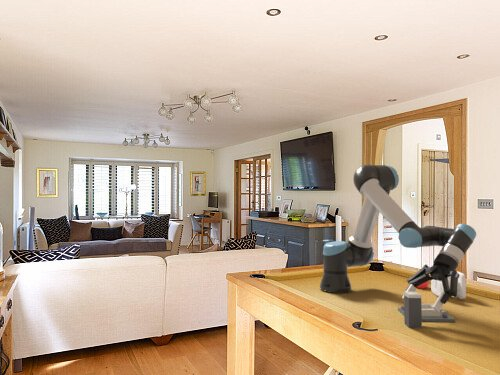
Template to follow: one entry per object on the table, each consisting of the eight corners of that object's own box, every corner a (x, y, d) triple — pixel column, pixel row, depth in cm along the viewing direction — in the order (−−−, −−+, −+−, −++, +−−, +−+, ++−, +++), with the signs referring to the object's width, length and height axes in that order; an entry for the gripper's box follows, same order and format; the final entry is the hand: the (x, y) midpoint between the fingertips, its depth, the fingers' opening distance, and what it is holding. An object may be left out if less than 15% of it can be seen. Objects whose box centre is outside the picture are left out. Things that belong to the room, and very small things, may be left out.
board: (410, 321, 141) (410, 311, 141) (397, 310, 155) (397, 301, 155) (455, 321, 140) (454, 312, 140) (437, 310, 154) (437, 301, 154)
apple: (426, 285, 197) (426, 270, 197) (432, 289, 189) (431, 273, 189) (410, 285, 198) (410, 270, 198) (415, 289, 190) (415, 273, 190)
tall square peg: (409, 327, 134) (408, 294, 134) (404, 323, 138) (404, 291, 138) (421, 328, 134) (421, 294, 134) (416, 323, 138) (416, 291, 138)
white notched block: (467, 301, 167) (467, 274, 168) (442, 301, 168) (442, 274, 169) (452, 293, 182) (452, 268, 183) (429, 292, 183) (429, 268, 184)
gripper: (485, 271, 132) (455, 321, 125) (426, 261, 155) (398, 302, 148) (474, 257, 130) (443, 306, 123) (416, 248, 153) (387, 290, 146)
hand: (419, 304), depth 136 cm, fingers open, 13 cm apart
